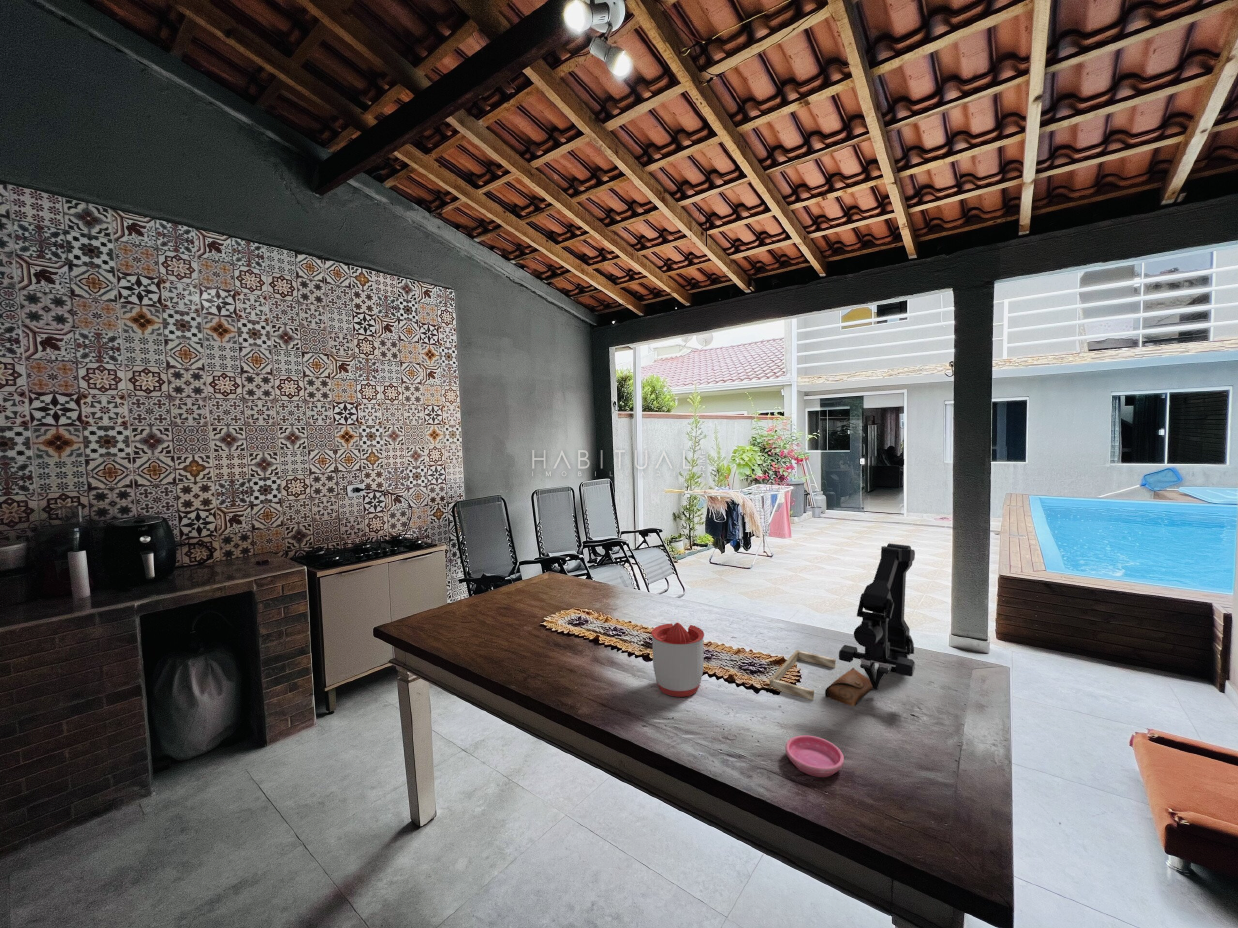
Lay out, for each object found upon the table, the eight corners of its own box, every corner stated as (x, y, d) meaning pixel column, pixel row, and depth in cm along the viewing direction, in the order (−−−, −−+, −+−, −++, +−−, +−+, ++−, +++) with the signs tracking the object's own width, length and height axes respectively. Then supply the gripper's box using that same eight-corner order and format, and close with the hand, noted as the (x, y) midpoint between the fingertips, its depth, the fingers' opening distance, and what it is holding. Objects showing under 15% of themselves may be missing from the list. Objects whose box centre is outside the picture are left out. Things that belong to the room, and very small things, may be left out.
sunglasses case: (855, 707, 137) (842, 683, 140) (833, 712, 142) (821, 688, 144) (879, 684, 150) (867, 662, 152) (858, 689, 154) (847, 667, 157)
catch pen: (835, 666, 162) (835, 659, 162) (812, 700, 142) (812, 691, 142) (796, 657, 169) (796, 649, 169) (769, 687, 149) (769, 679, 149)
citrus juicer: (708, 675, 157) (707, 613, 156) (701, 704, 141) (701, 634, 140) (658, 670, 162) (657, 609, 161) (647, 698, 145) (646, 630, 144)
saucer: (828, 745, 121) (828, 733, 121) (854, 781, 109) (854, 767, 109) (777, 748, 121) (777, 735, 121) (797, 783, 109) (797, 769, 108)
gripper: (917, 633, 143) (916, 686, 144) (847, 620, 155) (847, 669, 155) (912, 646, 135) (911, 703, 135) (838, 631, 146) (838, 684, 147)
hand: (875, 688), depth 143 cm, fingers closed
